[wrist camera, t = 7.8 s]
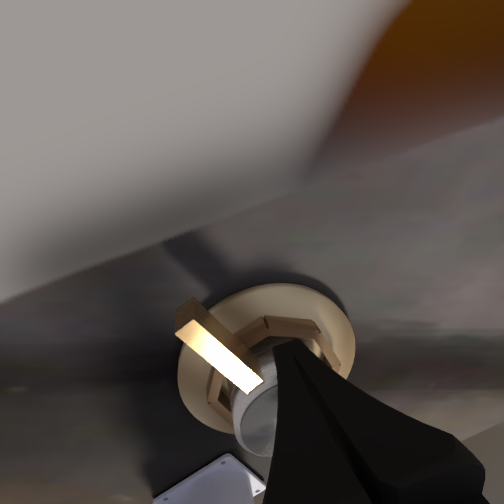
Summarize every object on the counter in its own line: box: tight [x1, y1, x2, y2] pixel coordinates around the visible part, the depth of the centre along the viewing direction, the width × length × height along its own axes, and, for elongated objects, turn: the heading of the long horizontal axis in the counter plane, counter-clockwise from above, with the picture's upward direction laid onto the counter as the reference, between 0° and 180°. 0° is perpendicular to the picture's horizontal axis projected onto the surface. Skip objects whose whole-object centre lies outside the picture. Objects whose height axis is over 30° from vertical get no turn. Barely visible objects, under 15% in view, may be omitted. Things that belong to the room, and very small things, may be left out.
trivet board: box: [177, 283, 355, 434], centre depth 24 cm, size 16×16×2 cm
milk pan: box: [175, 297, 316, 457], centre depth 20 cm, size 15×8×5 cm, turn 37°
